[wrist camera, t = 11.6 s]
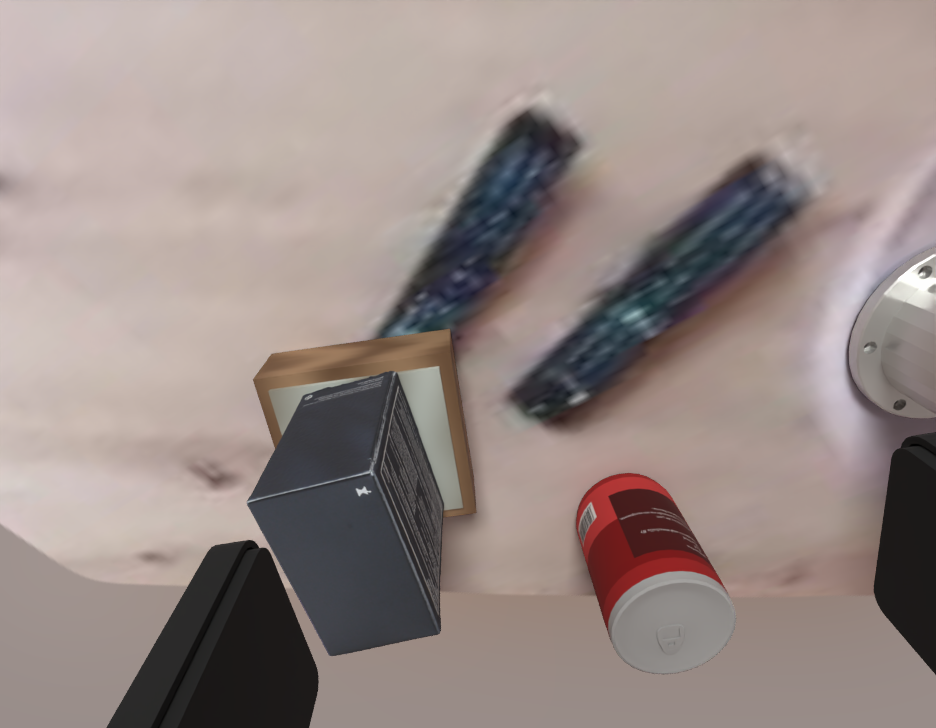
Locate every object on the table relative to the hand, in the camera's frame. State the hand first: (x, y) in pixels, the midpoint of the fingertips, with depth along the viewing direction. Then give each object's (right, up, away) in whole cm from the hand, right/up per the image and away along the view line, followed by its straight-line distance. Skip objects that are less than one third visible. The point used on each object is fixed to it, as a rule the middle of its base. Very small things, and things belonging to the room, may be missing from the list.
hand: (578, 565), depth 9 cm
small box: (-8, -2, +28) cm, 29 cm away
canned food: (+10, -8, +36) cm, 38 cm away
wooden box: (-8, -1, +32) cm, 33 cm away
